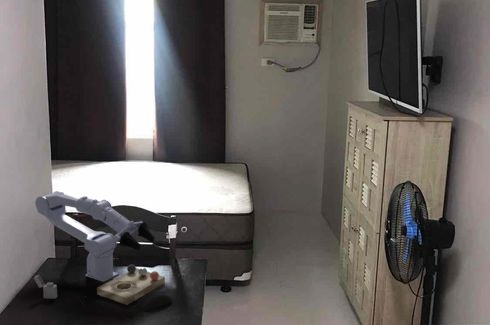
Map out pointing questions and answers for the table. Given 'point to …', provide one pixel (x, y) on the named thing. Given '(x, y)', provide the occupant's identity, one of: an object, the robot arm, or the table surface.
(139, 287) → the maple board
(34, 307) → the table surface
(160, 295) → the computer mouse
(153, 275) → the red ball
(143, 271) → the steel ball
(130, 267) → the black ball
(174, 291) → the table surface
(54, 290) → the lighter
